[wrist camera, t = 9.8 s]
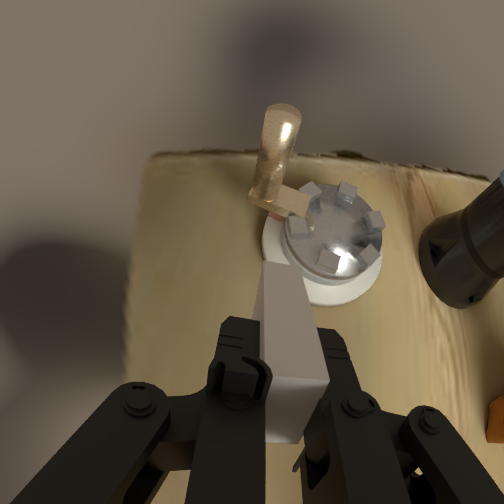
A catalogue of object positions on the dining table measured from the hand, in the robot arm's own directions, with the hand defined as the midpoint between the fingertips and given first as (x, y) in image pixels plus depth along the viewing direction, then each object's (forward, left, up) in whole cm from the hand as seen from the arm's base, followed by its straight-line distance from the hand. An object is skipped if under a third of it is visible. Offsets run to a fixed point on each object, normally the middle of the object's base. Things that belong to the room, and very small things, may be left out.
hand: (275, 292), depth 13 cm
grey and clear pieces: (-15, -4, -20) cm, 26 cm away
